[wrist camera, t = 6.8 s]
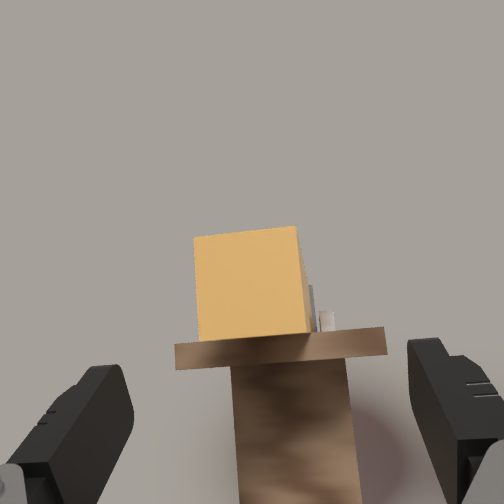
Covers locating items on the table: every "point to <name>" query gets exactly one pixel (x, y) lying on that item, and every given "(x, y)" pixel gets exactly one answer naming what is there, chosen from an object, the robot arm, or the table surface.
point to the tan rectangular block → (252, 285)
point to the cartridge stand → (291, 410)
